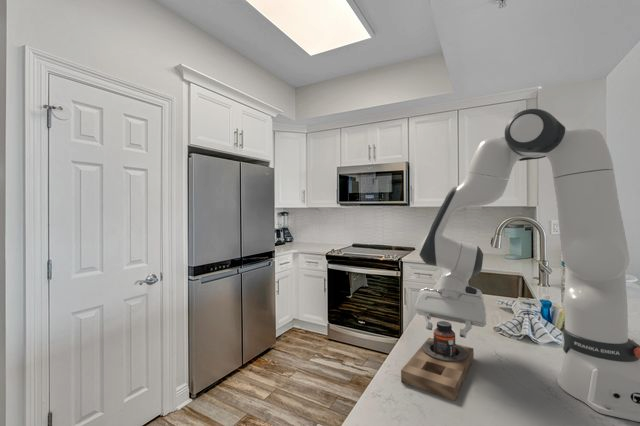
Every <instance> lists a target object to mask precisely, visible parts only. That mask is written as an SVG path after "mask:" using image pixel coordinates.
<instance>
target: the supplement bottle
mask: <svg viewBox="0 0 640 426" xmlns="http://www.w3.org/2000/svg"><path fill="white" fill-rule="evenodd" d="M452 328H453V327H452V323H451V322H450V321H447V320H439V321H437V322H436V328H435V329H434V330H433V339H434V353H436V354H438V355H441V356H447V357H454V356H456V347H455V344H456V333H455V332H454V331H453V329H452Z"/></svg>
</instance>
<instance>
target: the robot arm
mask: <svg viewBox="0 0 640 426" xmlns="http://www.w3.org/2000/svg"><path fill="white" fill-rule="evenodd" d="M542 158H547V159H548V161H549V162H550V166H551V170H552V178H553V184H554V185H553V187H554V192H555V199H556V207H557V217H558V218H557V220H558V227H559V228H558V229H559V236H560V237H559V239H560V247H561V255H562V257H561V258H562V261H563V264H564V266H565V268H564V298H563V299H564V300H563V301H564V303H563V304H564V326H563V327H562V331H561V347H562V349H563V358H562V363H561V367H560V370H559V374H558V377H557V379H556V382H557V385H558V386H559V387H560V389H562V390H563V391H564V392H566V393H567V394H568V395H570V396H572V397H574V398H576V400H579V401H581V402H582V403H584V404H586V405H588V407H590V408H591V409H592V410H594V411H596V412H597V413H599V414H602V415H605V416H611V417H616V418H620V419H624V420H629V421H633V422H639V423H640V344H638V343H637V342H636V341H635V340H634V339H631V338H629V334H628V333H629V321H628V320H629V319H628V317H629V315H628V310H629V309H628V305H629V304H628V299H627V298H628V295H627V293H628V292H627V283H626V282H627V281H626V280H627V279H626V271H627V269H628V268H629V265H630V253H629V249H628V242H627V236H626V233H625V228H624V221H623V217H622V212H621V211H622V210H621V206H620V202H619V194H618V188H617V181H616V176H615V175H616V174H615V170H614V163H613V159H612V155H611V152H610V149H609V146H608V144H607V141H606V140H605V138H604V135H603V133H601V132H600V131H598V130H596V129H594V128H592V129H591V128H577V129H572V130H566V127H565V125H564V124H563V123H561V122H560V121H559V120H558V119H557V118H556V117H555V116H554V115H553V114H552V113H550V112H549V111H546V110H544V109H541V108H540V109H539V108H527V109H524V110H521V111H519V112H517V113H516V114H514V115H513V116H512V117H511V118H510V119H509V120H508V122H507V123H506V125H505V128H504V136H503V137H497V136H496V137H488V138H486V139H483V140H481V142H480V143H479V144H478V146H477V148H476V149H475V152H474V154H473V156H472V158H471V161H470V163H469V166H468V168H467V173H466V176H465V177H464V179H463V181H462V182H461V183H460V184H459V185H458V186H455V187H452V188H451V189H450V190H449V191H448V193H447V195H446V196H445V199H444V200H443V202H442V204H441V206H440V208H439V210H438V212H437V214H436V216H435V218H434V220H433V222H432V225H431V227H430V229H429V231H428V233H427V234H426V235H425V237H424V238H423V240H422V241H421V244H420V247H419V256H420V258H421V260H422V261H423V262H424V264H426V265H429V266H433V267H440V268H441V276H440V279H439V281H438V286H437V289H434V288H427V287H425V288H424V287H423V288H422V289H420V290H419V291H418V294H417V299H416V301H415V305H414V310H415V311H416V314H417V315H419V316H423V317H424V318H425V321H426V323H425V324H426V325H425V329H426V330H428V331H433V327H434V326H433V325H434V324H433V322H430V320H431V319H432V318H433V319H439V320H442V321H447V322H453V323H460V324H463V325H465V327H464V328H459V337H460V338H464V339H466V338H467V334H468V332H469V331H471V330H472V327H473V326H475V327H481V328H484V327H485V326H486V325H487V311H486V306H485V303H484V301H485V300H484V294H483V293H482V290H481V289H479V288H476V287H473V286H470V285H469V280H470V279H472V278H474V277H476V276H477V275H479V274H480V273H481V272H482V269H483V261H484V252H483V251H482V249H481V248H480V246H479V245H477V244H476V245H475V244H473V243H469V242H466V241H462V240H461V241H460V240H457V239H452V238H449V237H445V236H444V235H443V233H444V232H445V229H446V228H447V225H448V224H449V222H450V220H451V218H452V216H453V215H454V213H455V212H457V211H458V210H459V211H460V210H461V209H465V208H470V207H471V208H472V207H480V206H481V207H482V206H486V205H489V204H493V203H495V202H497V201H498V200H499V199H501V198H502V196H503V194H504V192H505V191H506V188H507V186H508V184H509V179H510V176H511V175H512V170H513V168H514V166H515V164H516V163H517V162H518V161H519V162H521V161H530V160H538V159H542Z"/></svg>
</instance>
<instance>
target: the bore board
mask: <svg viewBox="0 0 640 426" xmlns="http://www.w3.org/2000/svg"><path fill="white" fill-rule="evenodd" d="M455 347H456V356H454V357H447V356H441V355H438V354H436V353H434V337H433V338H432V337H428V338H427V339H426V340H425V342H424V343H422V345H421V346H420V347H419V348H418V349H417V350H416V352H415V353H414V354H413V356H411V358H410V359H409V360H408V362H406V363H405V365H404V366H403V367H402V368H401V370H400V382H401V383H404V384H407V385H409V386H413V387H415V388H418V389H421V390H423V391H426V392H429V393H432V394H435V395H438V396H440V397H443V398H446V399H448V400H452V401H456V399H457V396H458V394H459V393H460V390H461V388H462V385H463V383H464V381H465V379H466V376H467V374H468V373H469V372H468V371H469V369H470V368H471V366H472V364H473V361H474V357H475V355H474V353H475V351H474V347H468V346H466V345H461V344H457V343H455Z"/></svg>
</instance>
